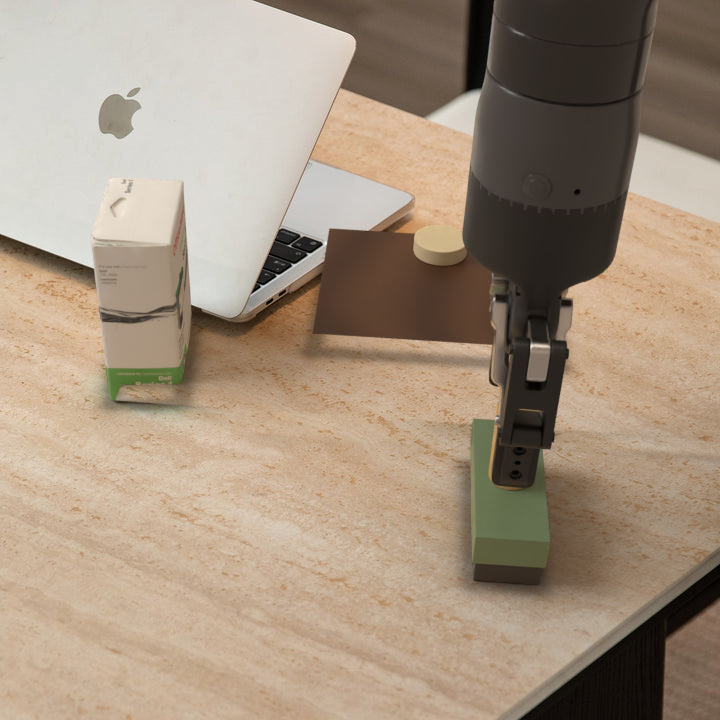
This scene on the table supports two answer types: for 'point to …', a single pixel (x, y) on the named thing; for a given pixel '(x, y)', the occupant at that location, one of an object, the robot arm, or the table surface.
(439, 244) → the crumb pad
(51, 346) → the table surface
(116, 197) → the ink box
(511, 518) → the brush
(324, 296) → the board
